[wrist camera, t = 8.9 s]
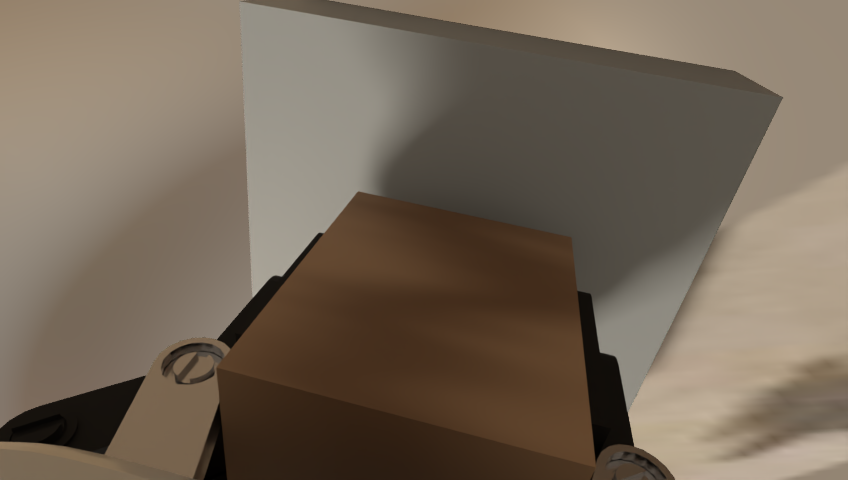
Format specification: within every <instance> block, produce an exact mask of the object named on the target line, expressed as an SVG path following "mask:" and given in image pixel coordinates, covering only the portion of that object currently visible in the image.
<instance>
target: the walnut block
mask: <svg viewBox="0 0 848 480" xmlns="http://www.w3.org/2000/svg"><path fill="white" fill-rule="evenodd" d="M216 371H217V381H218V391H219V401H220V412H221V422H222V432H223V442H224V452H225V462H226V472H227V480H590V479H591V477H592V475H593V473H594V471H595V469H596V462H595V452H594V443H593V434H592V424H591V415H590V406H589V396H588V387H587V378H586V368H585V359H584V350H583V340H582V331H581V322H580V312H579V303H578V294H577V284H576V275H575V266H574V256H573V247H572V237H568V236H563V235H559V234H554V233H549V232H545V231H540V230H535V229H531V228H526V227H521V226H517V225H512V224H508V223H503V222H498V221H494V220H489V219H484V218H480V217H475V216H470V215H466V214H461V213H457V212H452V211H447V210H443V209H438V208H433V207H429V206H424V205H419V204H415V203H410V202H406V201H401V200H396V199H392V198H387V197H382V196H378V195H373V194H368V193H364V192H359V191H358V192H357V193H356V194H355V196H354V197H353V198H352V199H351V201H350V202H349V203H348V204H347V206H346V207H345V208H344V209H343V211H342V212H341V213H340V214H339V215H338V217H337V218H336V219H335V220H334V222H333V223H332V224H331V225H330V227H329V228H328V229H327V230H326V232H325V233H324V234H323V235H322V237H321V238H320V239H319V240H318V242H317V243H316V244H315V245H314V247H313V248H312V249H311V250H310V252H309V253H308V254H307V255H306V256H305V258H304V259H303V260H302V261H301V263H300V264H299V265H298V266H297V268H296V269H295V270H294V271H293V273H292V274H291V275H290V276H289V278H288V279H287V280H286V281H285V283H284V284H283V285H282V286H281V288H280V289H279V290H278V291H277V292H276V294H275V295H274V296H273V297H272V299H271V300H270V301H269V302H268V304H267V305H266V306H265V307H264V309H263V310H262V311H261V312H260V314H259V315H258V316H257V317H256V319H255V320H254V321H253V322H252V324H251V325H250V326H249V327H248V329H247V330H246V331H245V332H244V333H243V335H242V336H241V337H240V338H239V340H238V341H237V342H236V343H235V345H234V346H233V347H232V348H231V350H230V351H229V352H228V353H227V355H226V356H225V357H224V358H223V360H222V361H221V362H220V363H219V365H218V366H217V367H216Z"/></svg>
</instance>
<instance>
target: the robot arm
mask: <svg viewBox="0 0 848 480" xmlns="http://www.w3.org/2000/svg"><path fill="white" fill-rule="evenodd" d="M323 234H324V233H318V234H317V235H316V236H315V237H314V239H313V240H312V241H311V242H310V243H309V245H308V246H307V247H306V248H305V249H304V251H303V252H302V253H301V254H300V255H299V257H298V258H297V259H296V260H295V261H294V263H293V264H292V265H291V266H290V268H289V269H288V270H287V271H286V272H285V274H284V275H283V276H282V277H281V276H277V275H275V276H272V277H271V278H270V279H269V280H268V281H267V282H266V283H265V284H264V286H263V287H262V288H261V289H260V290H259V291H258V293H257V294H256V295H255V296H254V297H253V298H252V300H251V301H250V302H249V303H248V304H247V305H246V307H245V308H244V309H243V310H242V311H241V312H240V313H239V315H238V316H237V317H236V318H235V319H234V320H233V322H232V323H231V324H230V325H229V326H228V327H227V328H226V330H225V331H224V332H223V333H222V334H221V335H220V337H219V338H218V339H217V340H216V339H212V338H205V337H202V338H191V339H187V340H182V341H179V342H177V343H175V344H173V345H171V346H169V347H167V348H166V349H165V350H164V351H162V352H161V353H160V354H159V355H158V357H157V358H156V359H155V360H154V362H153V364H152V366H151V368H150V370H149V372H148V373H147V375H146V376H143V377H139V378H136V379H133V380H129V381H126V382H122V383H118V384H115V385H111V386H108V387H105V388H101V389H97V390H94V391H90V392H87V393H84V394H80V395H77V396H73V397H70V398H66V399H63V400H59V401H56V402H52V403H49V404H46V405H42V406H39V407H36V408H33V409H31V410H28V411H26V412H24V413H22V414H20V415H18V416H16V417H15V418H13V419H11V420H10V421H9V422H7V423H6V424H5V425H4V426H3V427H1V428H0V480H227V472H226V462H225V452H224V442H223V432H222V422H221V412H220V401H219V391H218V381H217V371H216V367H217V366H218V365H219V363H220V362H221V361H222V360H223V358H224V357H225V356H226V355H227V353H228V352H229V351H230V350H231V348H232V347H233V346H234V345H235V343H236V342H237V341H238V340H239V338H240V337H241V336H242V335H243V333H244V332H245V331H246V330H247V329H248V327H249V326H250V325H251V324H252V322H253V321H254V320H255V319H256V317H257V316H258V315H259V314H260V312H261V311H262V310H263V309H264V307H265V306H266V305H267V304H268V302H269V301H270V300H271V299H272V297H273V296H274V295H275V294H276V292H277V291H278V290H279V289H280V288H281V286H282V285H283V284H284V283H285V281H286V280H287V279H288V278H289V276H290V275H291V274H292V273H293V271H294V270H295V269H296V268H297V266H298V265H299V264H300V263H301V261H302V260H303V259H304V258H305V256H306V255H307V254H308V253H309V252H310V250H311V249H312V248H313V247H314V245H315V244H316V243H317V242H318V240H319V239H320V238H321V237H322V235H323ZM577 294H578V303H579V312H580V322H581V331H582V340H583V350H584V359H585V368H586V378H587V387H588V396H589V406H590V415H591V424H592V434H593V443H594V452H595V462H596V469H595V471H594V473H593V475H592V477H591V479H590V480H675V478H674V477H673V475H672V474H671V473H670V471H669V470H668V469H667V467H666V466H665V465H663V464H662V463H661V462H660V461H659V460H658V459H657V458H655V457H654V456H652V455H651V454H649V453H647V452H646V451H644V450H642V449H639V448H636V447H634V443H633V438H632V433H631V427H630V422H629V417H628V412H627V406H626V401H625V396H624V391H623V385H622V380H621V375H620V370H619V364H618V361H617V358H616V357H615V356H613V355H609V354H605V353H600V350H599V343H598V336H597V329H596V323H595V316H594V309H593V303H592V296H591V294H590V293H586V292H581V291H577Z"/></svg>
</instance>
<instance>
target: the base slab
mask: <svg viewBox="0 0 848 480" xmlns="http://www.w3.org/2000/svg"><path fill="white" fill-rule="evenodd" d="M240 23H241V46H242V69H243V91H244V116H245V137H246V162H247V184H248V206H249V229H250V251H251V252H250V254H251V275H252V276H251V277H252V298H253V297H254V296H255V295H256V294H257V293H258V291H259V290H260V289H261V288H262V287H263V286H264V284H265V283H266V282H267V281H268V280H269V279H270V278H271V277H272V276H275V275H277V276H281V277H282V276H283V275H284V274H285V272H286V271H287V270H288V269H289V268H290V266H291V265H292V264H293V263H294V261H295V260H296V259H297V258H298V257H299V255H300V254H301V253H302V252H303V251H304V249H305V248H306V247H307V246H308V245H309V243H310V242H311V241H312V240H313V239H314V237H315V236H316V235H317V234H318V233H325V232H326V230H327V229H328V228H329V227H330V225H331V224H332V223H333V222H334V220H335V219H336V218H337V217H338V215H339V214H340V213H341V212H342V211H343V209H344V208H345V207H346V206H347V204H348V203H349V202H350V201H351V199H352V198H353V197H354V196H355V194H356V193H357V192H358V191H359V192H364V193H368V194H373V195H378V196H382V197H387V198H392V199H396V200H401V201H406V202H410V203H415V204H419V205H424V206H429V207H433V208H438V209H443V210H447V211H452V212H457V213H461V214H466V215H470V216H475V217H480V218H484V219H489V220H494V221H498V222H503V223H508V224H512V225H517V226H521V227H526V228H531V229H535V230H540V231H545V232H549V233H554V234H559V235H563V236H568V237H572V247H573V256H574V266H575V275H576V284H577V291H581V292H586V293H590V294H591V296H592V303H593V309H594V316H595V323H596V329H597V336H598V343H599V350H600V353H605V354H609V355H613V356H615V357H616V358H617V361H618V364H619V370H620V375H621V380H622V385H623V391H624V396H625V401H626V406H627V412H628V411H629V409H630V407H631V405H632V403H633V401H634V399H635V397H636V395H637V393H638V391H639V389H640V387H641V385H642V383H643V381H644V379H645V377H646V375H647V373H648V371H649V369H650V367H651V365H652V362H653V360H654V358H655V356H656V354H657V352H658V350H659V348H660V346H661V344H662V342H663V340H664V338H665V336H666V334H667V332H668V330H669V328H670V326H671V324H672V322H673V320H674V318H675V316H676V314H677V312H678V310H679V308H680V306H681V304H682V302H683V299H684V297H685V295H686V293H687V291H688V289H689V287H690V285H691V283H692V281H693V279H694V277H695V275H696V273H697V271H698V269H699V267H700V265H701V263H702V261H703V259H704V257H705V255H706V253H707V251H708V249H709V247H710V245H711V243H712V241H713V239H714V236H715V234H716V232H717V230H718V228H719V226H720V224H721V222H722V220H723V218H724V216H725V214H726V212H727V210H728V208H729V206H730V204H731V202H732V200H733V198H734V196H735V194H736V192H737V190H738V187H739V186H740V183H741V182H742V179H743V178H744V175H745V173H746V171H747V169H748V167H749V165H750V163H751V161H752V159H753V157H754V155H755V153H756V151H757V149H758V147H759V145H760V143H761V141H762V139H763V137H764V135H765V133H766V131H767V129H768V127H769V124H770V123H771V121H772V118H773V117H774V115H775V113H776V110H777V108H778V106H779V104H780V102H781V100H782V98H783V97H781V96H779V95H777V94H775V93H773V92H772V91H770V90H768V89H766V88H765V87H763V86H761V85H759V84H757V83H756V82H754V81H752V80H750V79H748V78H746V77H744V76H743V75H741V74H739V73H737V72H735V71H732V70H726V69H720V68H714V67H709V66H702V65H697V64H691V63H686V62H679V61H674V60H668V59H662V58H657V57H650V56H645V55H639V54H633V53H628V52H622V51H616V50H611V49H605V48H598V47H593V46H587V45H582V44H575V43H570V42H564V41H559V40H553V39H547V38H541V37H536V36H530V35H524V34H518V33H513V32H507V31H501V30H495V29H489V28H483V27H478V26H472V25H466V24H461V23H455V22H449V21H443V20H437V19H432V18H426V17H420V16H414V15H409V14H402V13H397V12H391V11H385V10H380V9H374V8H368V7H362V6H357V5H351V4H345V3H339V2H334V1H328V0H246V1H240Z"/></svg>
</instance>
